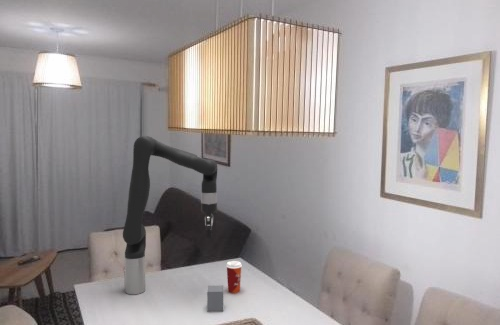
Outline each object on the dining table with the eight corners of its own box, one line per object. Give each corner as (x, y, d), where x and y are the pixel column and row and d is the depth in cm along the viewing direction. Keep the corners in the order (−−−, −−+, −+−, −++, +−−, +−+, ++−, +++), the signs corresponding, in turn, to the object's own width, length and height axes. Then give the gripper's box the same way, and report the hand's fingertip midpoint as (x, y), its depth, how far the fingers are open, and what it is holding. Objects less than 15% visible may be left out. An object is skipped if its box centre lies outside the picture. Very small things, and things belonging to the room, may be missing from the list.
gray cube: (207, 311, 169) (207, 291, 169) (208, 304, 176) (208, 285, 175) (223, 311, 170) (223, 291, 169) (223, 304, 176) (223, 285, 176)
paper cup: (239, 295, 187) (240, 266, 186) (224, 293, 188) (224, 265, 187) (243, 288, 194) (243, 260, 193) (228, 287, 196) (228, 259, 195)
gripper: (202, 199, 192) (202, 231, 194) (200, 204, 178) (200, 239, 179) (217, 199, 193) (217, 231, 194) (216, 204, 178) (216, 239, 180)
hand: (209, 235), depth 187 cm, fingers open, 8 cm apart
